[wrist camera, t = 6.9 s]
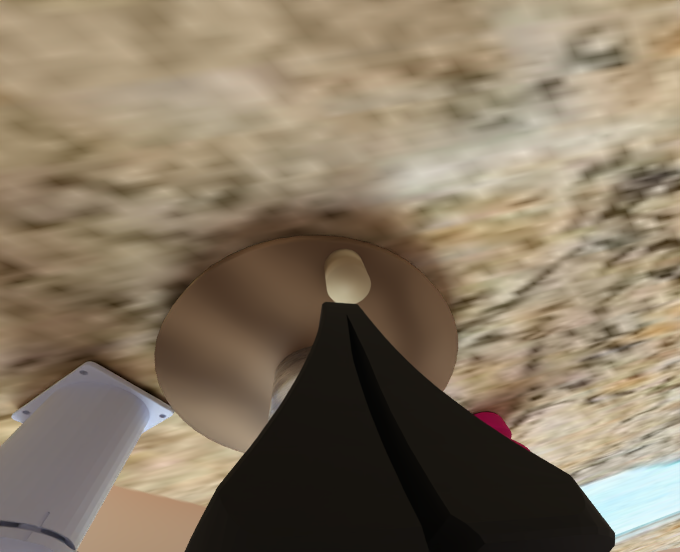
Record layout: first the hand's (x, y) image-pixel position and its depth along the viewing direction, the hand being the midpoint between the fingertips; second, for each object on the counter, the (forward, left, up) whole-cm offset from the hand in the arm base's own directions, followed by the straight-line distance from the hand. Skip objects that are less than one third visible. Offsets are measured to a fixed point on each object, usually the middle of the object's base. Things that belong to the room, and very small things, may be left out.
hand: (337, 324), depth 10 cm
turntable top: (-7, -8, -9) cm, 14 cm away
